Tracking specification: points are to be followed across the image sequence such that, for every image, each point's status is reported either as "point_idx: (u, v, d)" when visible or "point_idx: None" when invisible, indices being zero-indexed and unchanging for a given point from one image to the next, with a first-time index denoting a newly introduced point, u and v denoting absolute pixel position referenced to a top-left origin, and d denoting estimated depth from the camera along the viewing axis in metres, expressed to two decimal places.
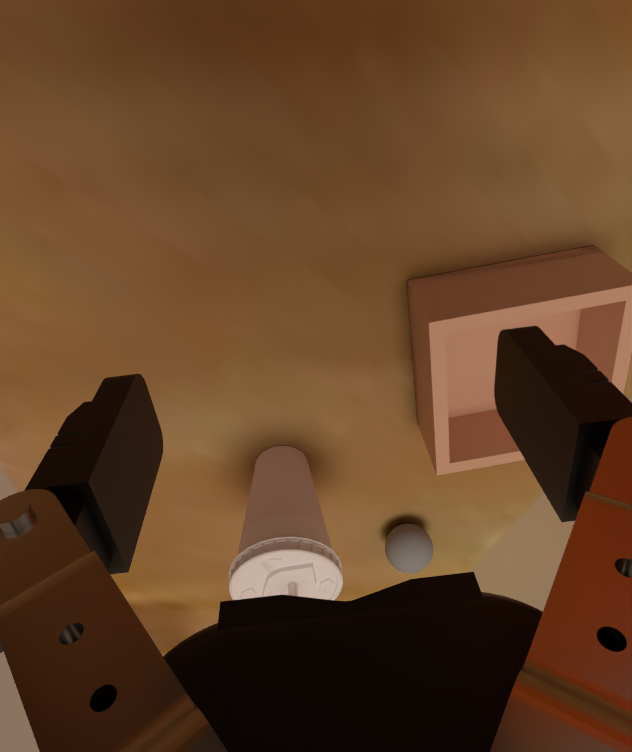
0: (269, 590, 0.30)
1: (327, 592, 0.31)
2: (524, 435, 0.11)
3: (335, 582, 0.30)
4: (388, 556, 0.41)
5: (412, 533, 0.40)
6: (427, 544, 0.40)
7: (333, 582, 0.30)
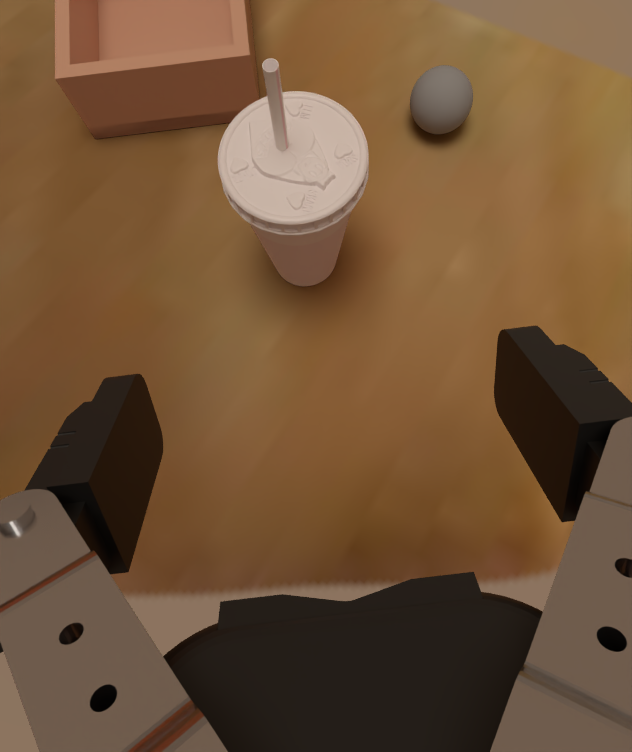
0: (289, 172, 0.22)
1: (314, 108, 0.23)
2: (524, 435, 0.11)
3: (295, 99, 0.23)
4: (443, 118, 0.31)
5: (410, 97, 0.32)
6: (423, 75, 0.31)
7: (293, 100, 0.23)
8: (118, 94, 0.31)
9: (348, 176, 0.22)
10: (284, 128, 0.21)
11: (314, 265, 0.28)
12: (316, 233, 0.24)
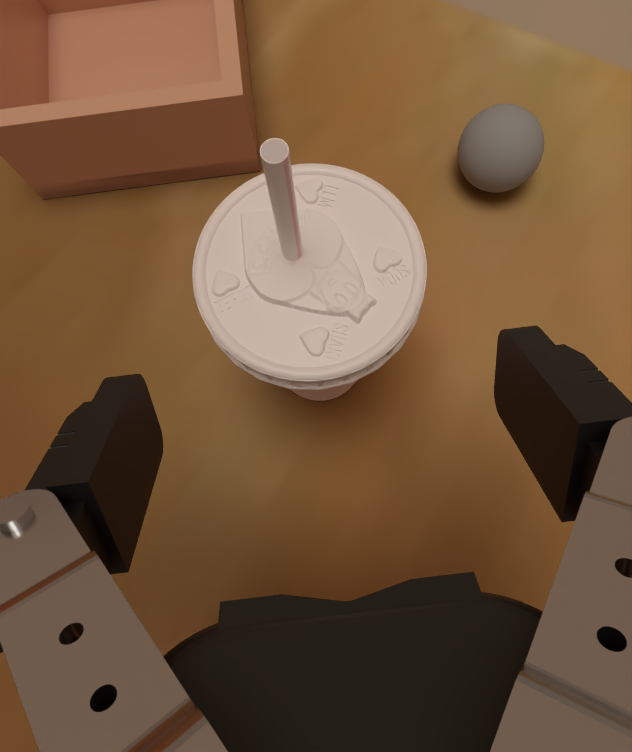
0: (304, 296, 0.14)
1: (341, 191, 0.15)
2: (524, 435, 0.11)
3: (311, 176, 0.15)
4: (506, 175, 0.23)
5: (459, 145, 0.24)
6: (476, 116, 0.23)
7: (308, 178, 0.15)
8: (67, 147, 0.23)
9: (396, 301, 0.14)
10: (296, 234, 0.13)
11: (335, 391, 0.20)
12: None
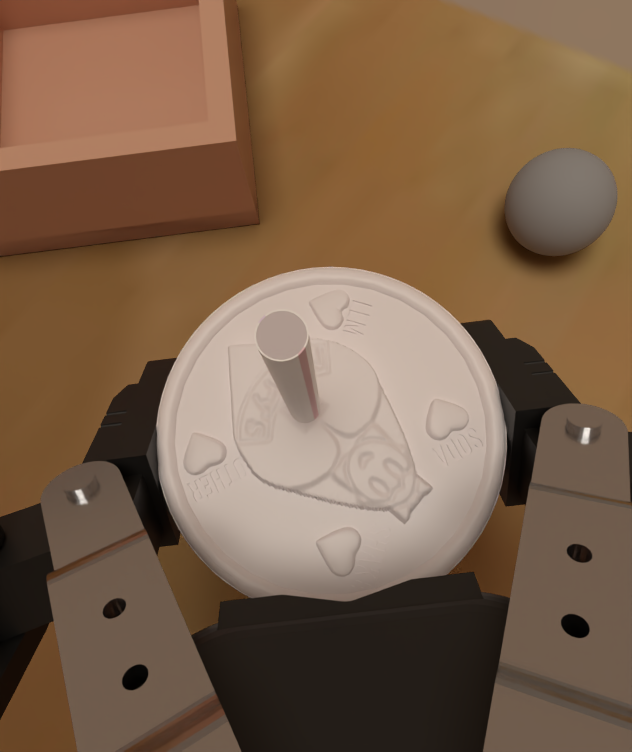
0: (323, 481, 0.09)
1: (376, 309, 0.10)
2: None
3: (332, 286, 0.10)
4: (570, 239, 0.18)
5: (507, 199, 0.19)
6: (530, 162, 0.19)
7: (327, 291, 0.10)
8: (14, 201, 0.18)
9: (462, 486, 0.09)
10: (313, 404, 0.08)
11: None
12: None
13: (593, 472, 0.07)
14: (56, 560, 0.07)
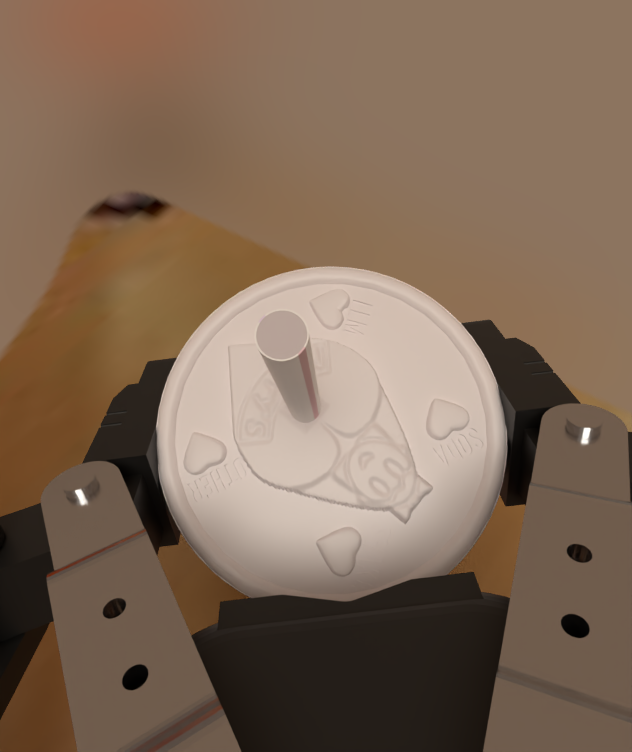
0: (323, 481, 0.09)
1: (376, 309, 0.10)
2: None
3: (332, 286, 0.10)
4: None
5: None
6: None
7: (328, 290, 0.10)
8: None
9: (463, 486, 0.09)
10: (314, 404, 0.08)
11: None
12: None
13: (592, 472, 0.07)
14: (55, 560, 0.07)
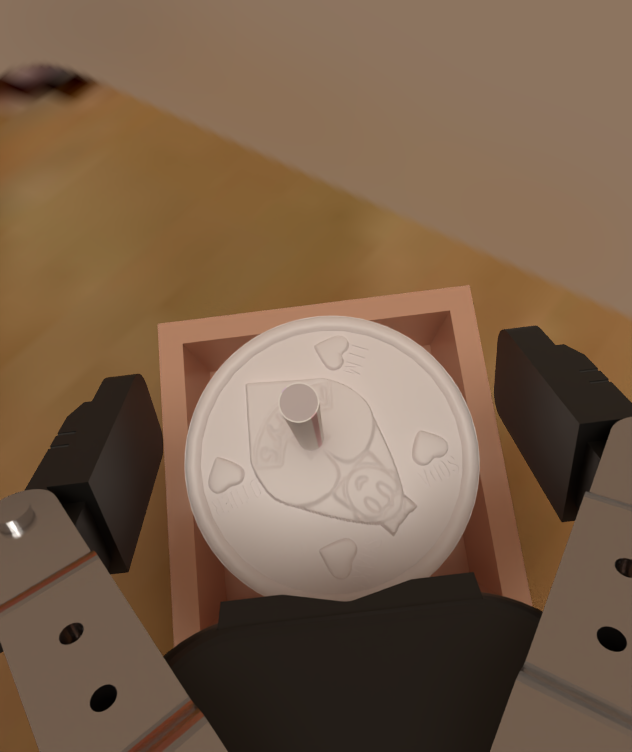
0: (325, 500, 0.11)
1: (372, 353, 0.12)
2: (524, 435, 0.11)
3: (334, 332, 0.12)
4: None
5: None
6: None
7: (330, 336, 0.12)
8: None
9: (442, 505, 0.11)
10: (319, 439, 0.10)
11: None
12: None
13: None
14: None
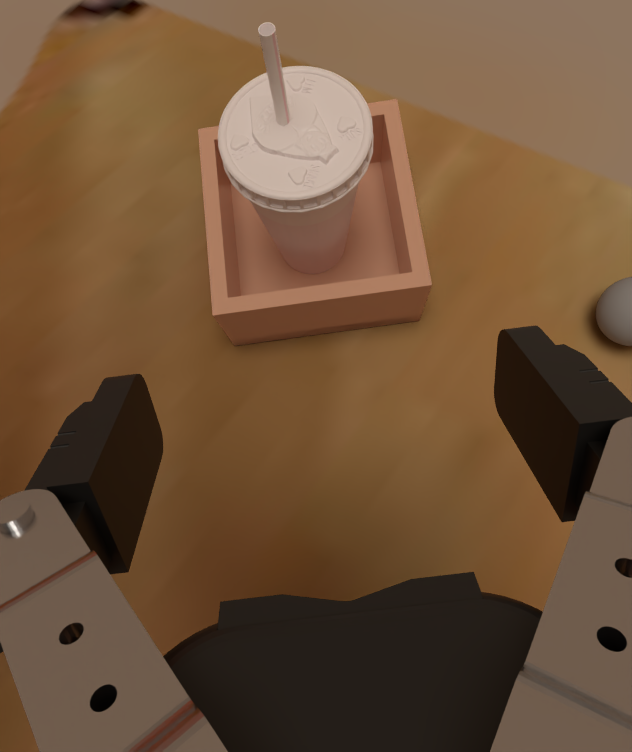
0: (291, 147, 0.21)
1: (317, 82, 0.22)
2: (524, 435, 0.11)
3: (297, 73, 0.22)
4: None
5: (599, 309, 0.28)
6: (615, 285, 0.28)
7: (295, 75, 0.22)
8: (275, 319, 0.28)
9: (352, 150, 0.21)
10: (284, 100, 0.20)
11: (320, 249, 0.27)
12: (320, 211, 0.23)
13: None
14: None
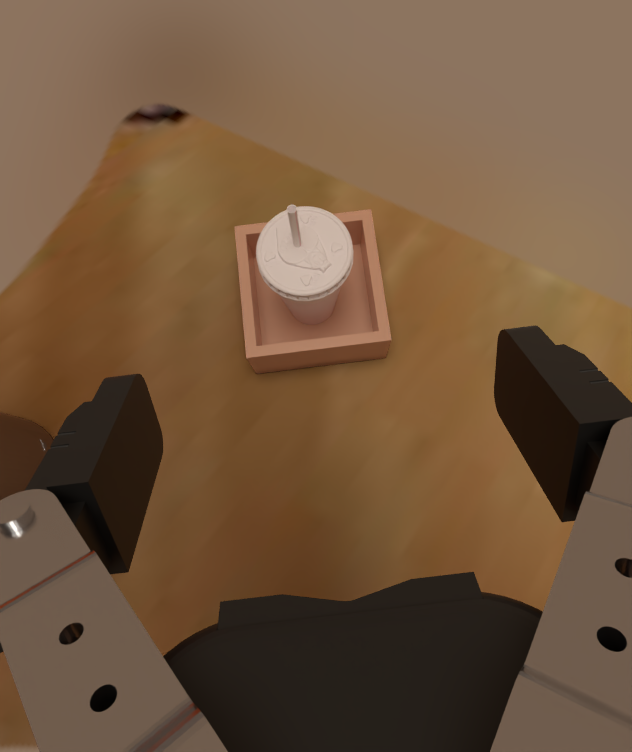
0: (302, 262, 0.35)
1: (318, 218, 0.35)
2: (524, 435, 0.11)
3: (306, 211, 0.36)
4: None
5: None
6: None
7: (304, 213, 0.35)
8: (286, 359, 0.41)
9: (339, 264, 0.35)
10: (299, 236, 0.34)
11: (318, 313, 0.40)
12: None
13: None
14: None
